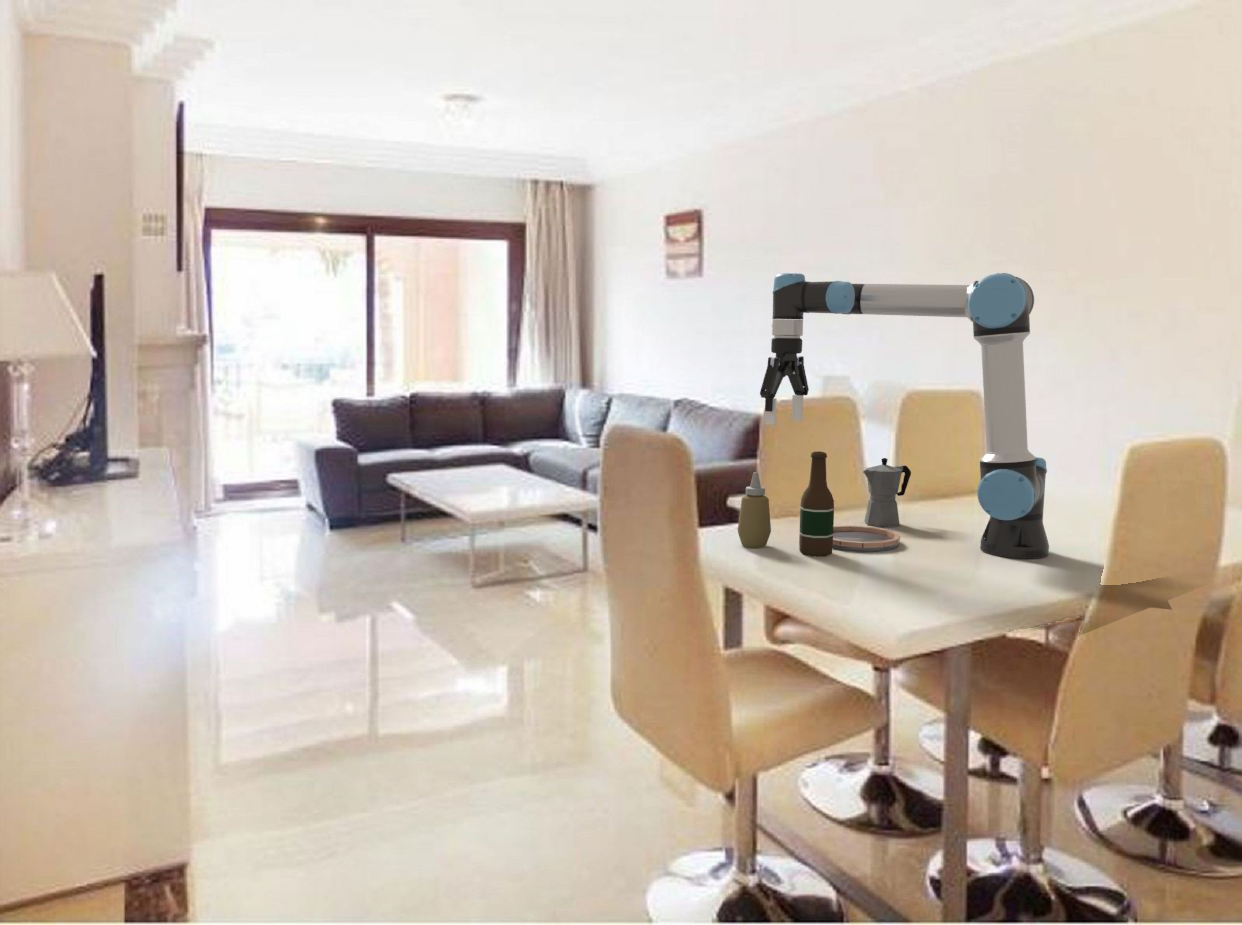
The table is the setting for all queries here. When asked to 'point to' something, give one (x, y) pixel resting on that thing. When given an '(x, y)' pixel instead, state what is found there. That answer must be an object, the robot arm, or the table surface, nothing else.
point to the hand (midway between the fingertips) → (783, 422)
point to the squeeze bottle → (754, 516)
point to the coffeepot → (884, 493)
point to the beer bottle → (817, 511)
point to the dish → (864, 538)
